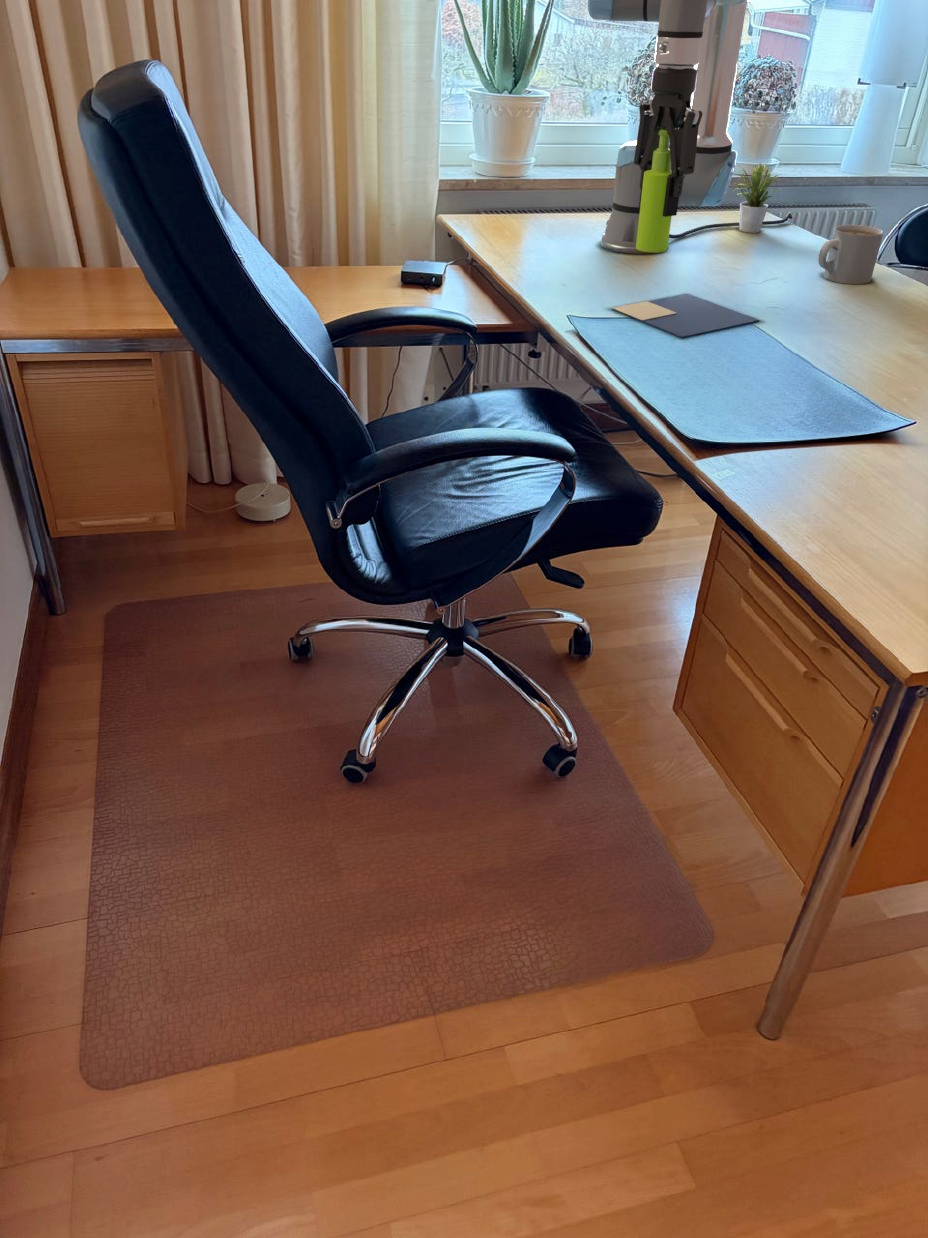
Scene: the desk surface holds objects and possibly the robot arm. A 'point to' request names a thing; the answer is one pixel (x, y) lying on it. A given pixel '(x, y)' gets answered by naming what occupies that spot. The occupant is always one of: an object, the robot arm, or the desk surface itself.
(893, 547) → the desk surface
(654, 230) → the soap dispenser
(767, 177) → the house plant
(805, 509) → the desk surface
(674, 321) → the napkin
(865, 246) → the coffee mug
